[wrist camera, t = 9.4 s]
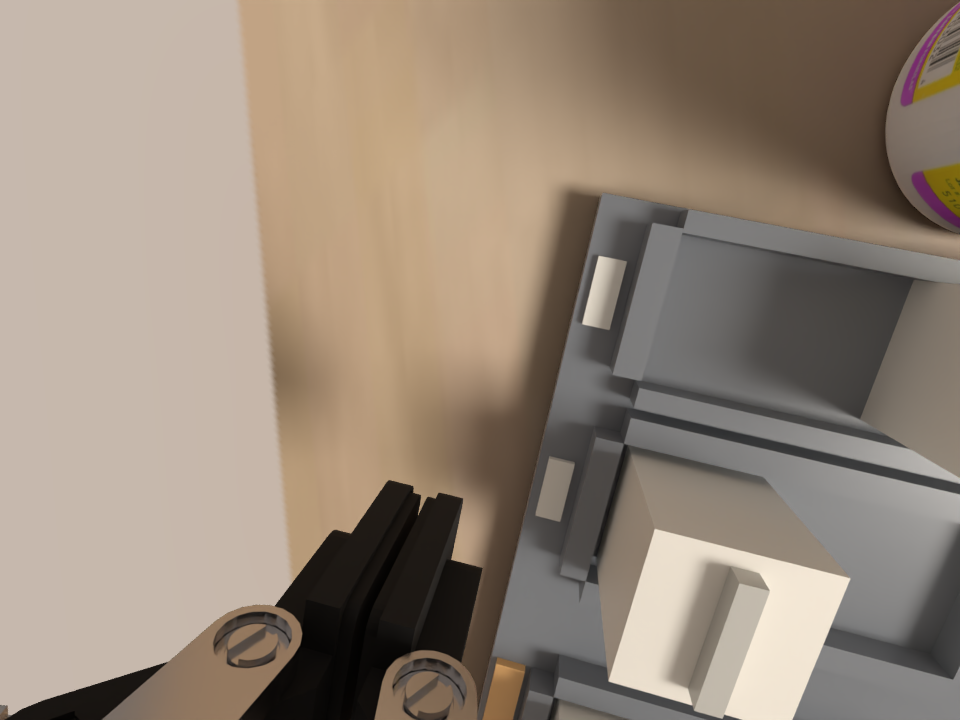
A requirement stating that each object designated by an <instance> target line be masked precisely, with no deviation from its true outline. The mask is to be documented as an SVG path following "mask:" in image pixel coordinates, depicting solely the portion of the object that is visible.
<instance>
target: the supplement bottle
mask: <svg viewBox="0 0 960 720" xmlns="http://www.w3.org/2000/svg"><path fill="white" fill-rule="evenodd" d="M885 133H886V149H887V155H888V160H889V164H890V167H891V170H892V173H893V175H894V177H895V180H896V182H897V184H898V186H899V188H900V189H901V191H902V192H903V194H904V195H905V196H906V198H907V199H908V200H909V201H910V203H911V204H912V205H913V206H914V207H915V208H916V209H917V210H918V211H920V212H921V213H922V214H923V215H924V216H926V217H927V218H928V219H930V220H931V221H933V222H934V223H936V224H938V225H940V226H942V227H943V228H945V229H948V230H950V231H952V232H955V233H958V234H960V2H958V3H957V4H956V5H955V6H953V7H952V8H951V9H950V10H949V11H948V12H947V13H945V14H944V15H943V16H942V17H941V18H940V19H939V20H938V21H937V22H936V23H935V24H934V25H933V26H932V27H931V28H930V29H929V30H928V32H927V33H926V34H925V35H924V36H923V38H922V39H921V40H920V41H919V43H918V44H917V46H916V47H915V49H914V50H913V51H912V53H911V54H910V56H909V58H908V59H907V61H906V62H905V64H904V66H903V68H902V70H901V72H900V74H899V76H898V79H897V81H896V83H895V85H894V88H893V91H892V94H891V98H890V102H889V106H888V111H887V118H886V126H885Z"/></svg>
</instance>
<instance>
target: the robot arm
mask: <svg viewBox="0 0 960 720" xmlns="http://www.w3.org/2000/svg"><path fill="white" fill-rule="evenodd" d="M413 489H414V488H413V486H411V485H407V484H403V483H399V482H395V481H391V480H388V482H387V483H386V484H385V486H384V487H383V489H382V490H381V491H380V493H379V494H378V496H377V497H376V499H375V500H374V502H373V503H372V504H371V506H370V507H369V509H368V510H367V512H366V513H365V515H364V516H363V518H362V519H361V520H360V522H359V523H358V525H357V526H356V528H355V529H354V531H353V532H352V533H351V534H350V533H346V532H342V531H338V530H334V531H332V532H331V533H330V534H329V535H328V537H327V538H326V539H325V541H324V542H323V543H322V545H321V546H320V547H319V549H318V550H317V551H316V553H315V554H314V555H313V556H312V558H311V559H310V560H309V562H308V563H307V564H306V566H305V567H304V568H303V570H302V571H301V572H300V574H299V575H298V576H297V577H296V579H295V580H294V581H293V583H292V584H291V585H290V587H289V588H288V589H287V591H286V592H285V593H284V595H283V596H282V597H281V598H280V600H279V601H278V602H277V604H276V605H275V606H270V605H253V606H247V607H241V608H239V609H236V610H234V611H231V612H229V613H227V614H225V615H224V616H222V617H221V618H219V619H218V620H216V621H215V622H214V623H213V624H211V625H210V626H209V627H208V628H207V629H206V630H204V631H203V632H202V633H201V634H200V635H199V636H198V637H196V639H194V640H193V641H192V642H191V643H190V644H188V645H187V646H186V647H185V648H184V649H183V650H182V651H180V652H179V653H178V654H177V655H176V656H175V657H173V658H172V659H171V660H170V661H169V662H166V663H163V664H160V665H156V666H153V667H150V668H147V669H143V670H140V671H137V672H134V673H130V674H127V675H124V676H121V677H118V678H114V679H111V680H108V681H105V682H101V683H98V684H95V685H92V686H89V687H86V688H82V689H79V690H76V691H73V692H69V693H66V694H63V695H60V696H56V697H53V698H50V699H47V700H43V701H41V702H38V703H36V704H33V705H31V706H28V707H26V708H24V709H21V710H20V711H18V712H17V713H15V714H13V715H8V706H5V705H3V706H2V705H0V720H477V691H476V685H475V682H474V680H473V678H472V676H471V674H470V672H469V671H468V670H467V669H466V668H465V667H464V666H463V665H462V664H461V662H462V657H463V653H464V649H465V644H466V640H467V635H468V631H469V626H470V622H471V618H472V613H473V609H474V604H475V600H476V595H477V591H478V586H479V582H480V577H481V573H482V568H480V567H476V566H472V565H469V564H465V563H461V562H457V561H453V560H451V558H452V553H453V548H454V543H455V538H456V533H457V528H458V524H459V519H460V514H461V509H462V504H463V498H459V497H455V496H451V495H447V494H443V493H438V495H437V497H436V499H435V498H431V497H427V499H426V501H425V503H424V505H423V507H422V509H421V511H420V513H419V515H418V512H419V506H420V500H421V495H419V494H415V493H413Z"/></svg>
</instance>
